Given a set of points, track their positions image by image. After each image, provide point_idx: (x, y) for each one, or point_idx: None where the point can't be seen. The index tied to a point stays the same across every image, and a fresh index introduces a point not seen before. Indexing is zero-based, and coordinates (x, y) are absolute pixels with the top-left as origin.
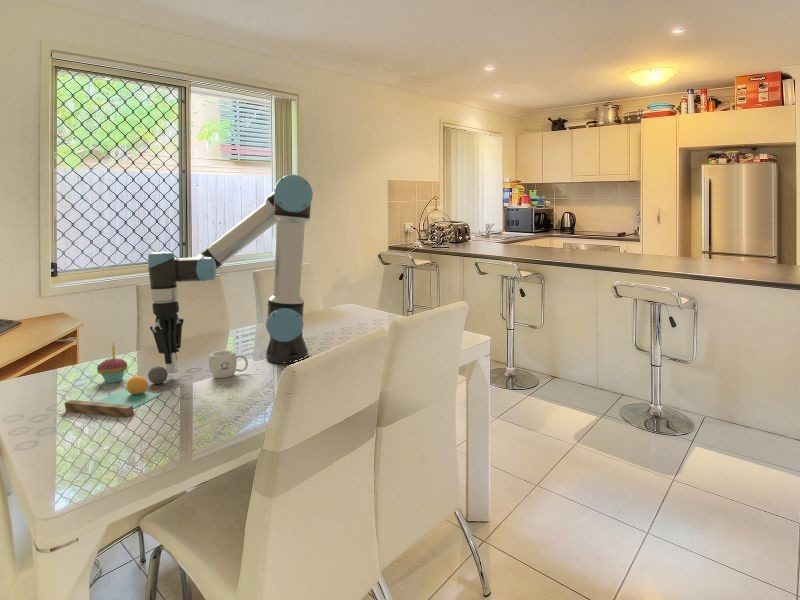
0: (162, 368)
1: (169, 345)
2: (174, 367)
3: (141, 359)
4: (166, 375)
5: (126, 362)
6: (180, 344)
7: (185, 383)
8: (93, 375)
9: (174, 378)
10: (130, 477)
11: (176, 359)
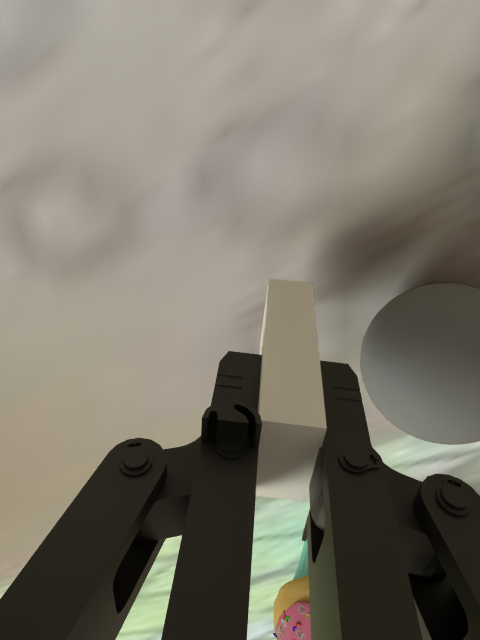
0: (473, 364)
1: (383, 579)
2: (303, 310)
3: (21, 566)
4: (452, 292)
5: (303, 610)
6: (95, 483)
7: (452, 75)
8: (273, 614)
9: (297, 266)
10: None
11: (224, 361)
